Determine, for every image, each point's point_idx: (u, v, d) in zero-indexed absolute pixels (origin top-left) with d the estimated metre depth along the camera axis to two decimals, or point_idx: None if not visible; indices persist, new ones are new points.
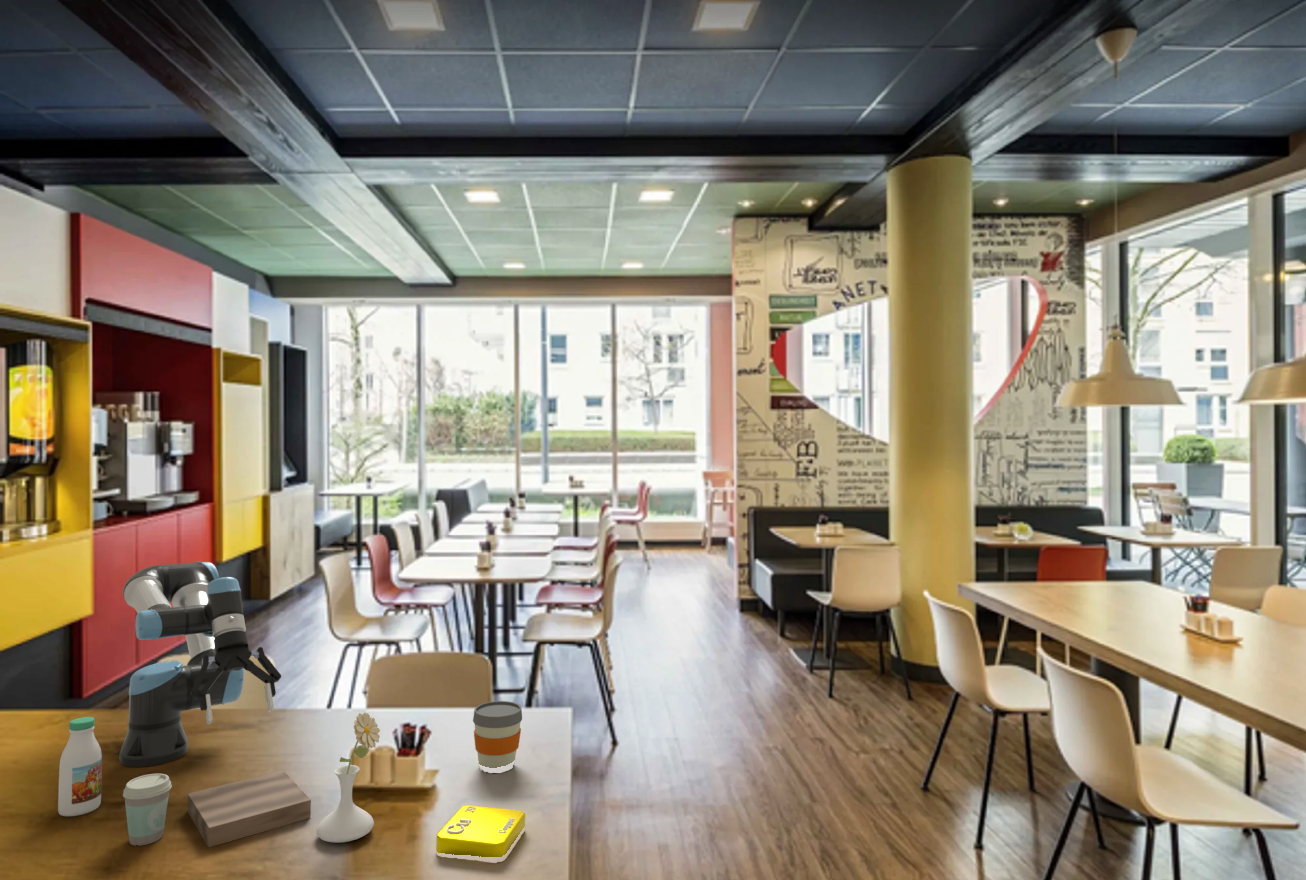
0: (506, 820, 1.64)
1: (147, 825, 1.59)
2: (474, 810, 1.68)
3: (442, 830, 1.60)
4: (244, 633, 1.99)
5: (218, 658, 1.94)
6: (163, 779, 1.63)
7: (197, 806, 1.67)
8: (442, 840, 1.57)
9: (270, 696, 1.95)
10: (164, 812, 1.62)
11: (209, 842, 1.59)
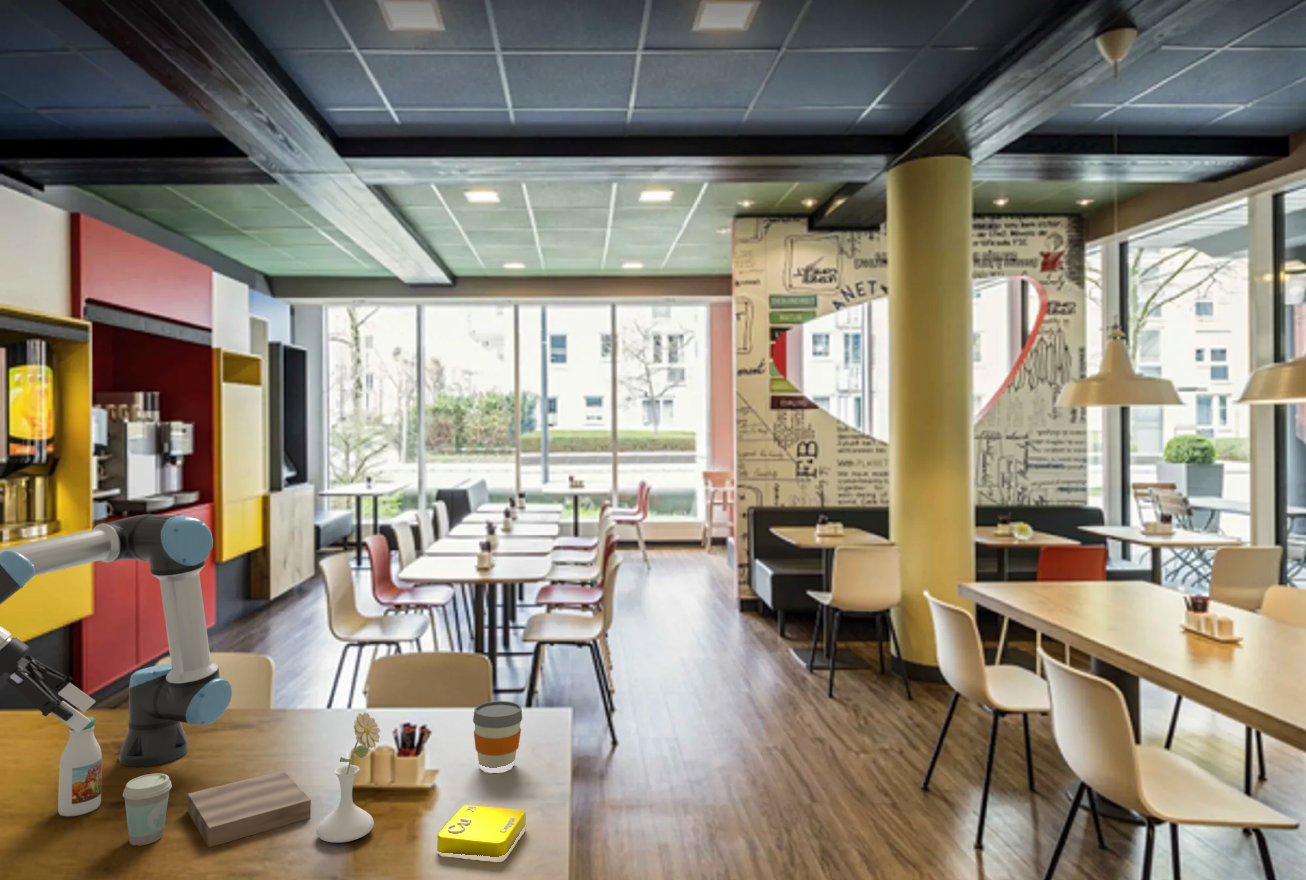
0: (507, 819, 1.65)
1: (147, 825, 1.59)
2: (475, 810, 1.69)
3: (443, 830, 1.60)
4: None
5: None
6: (163, 779, 1.63)
7: (197, 806, 1.67)
8: (443, 839, 1.57)
9: None
10: (164, 812, 1.62)
11: (209, 842, 1.59)
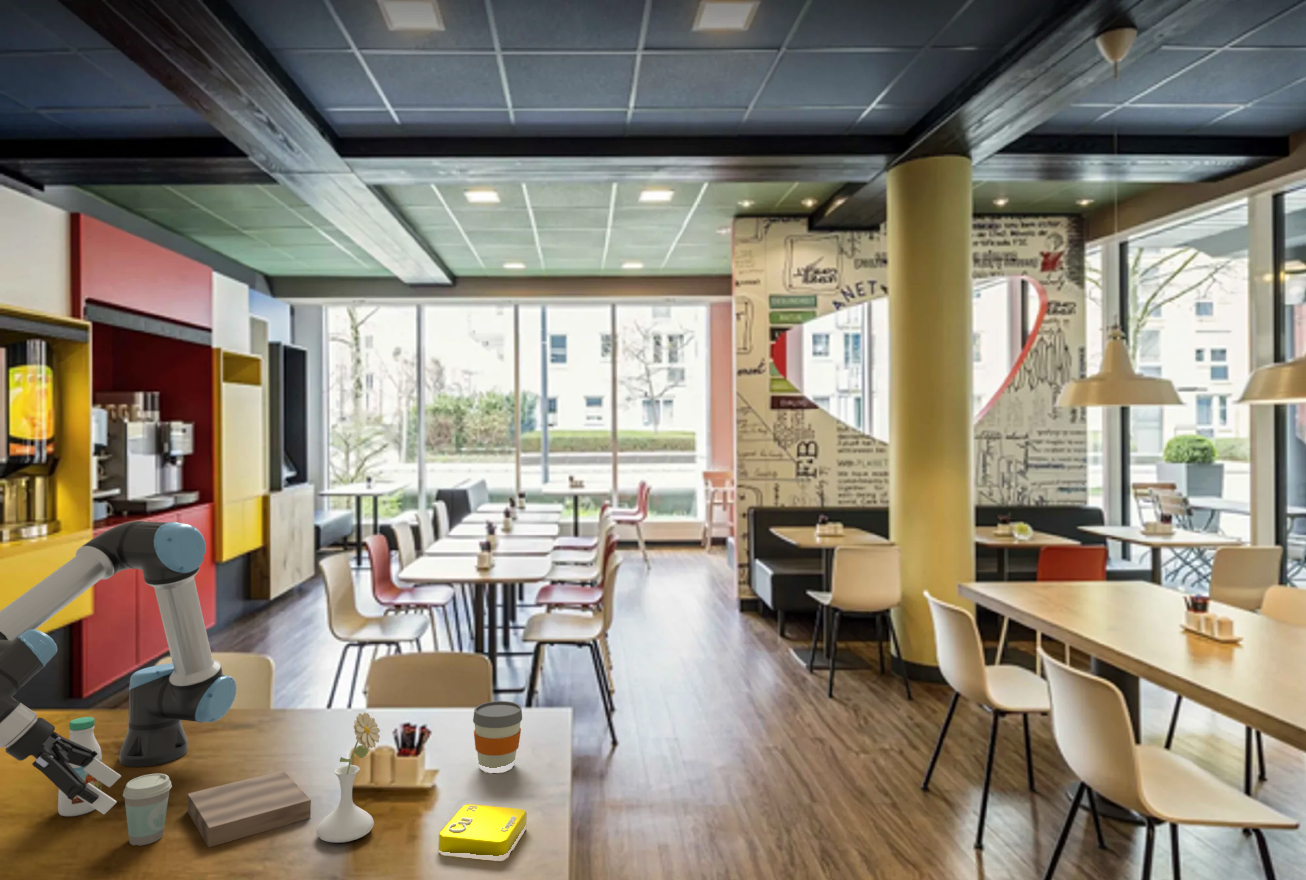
0: (508, 818, 1.65)
1: (147, 825, 1.59)
2: (475, 809, 1.69)
3: (444, 829, 1.60)
4: (11, 751, 1.47)
5: None
6: (163, 779, 1.63)
7: (197, 806, 1.67)
8: (444, 838, 1.57)
9: None
10: (164, 812, 1.62)
11: (209, 842, 1.59)
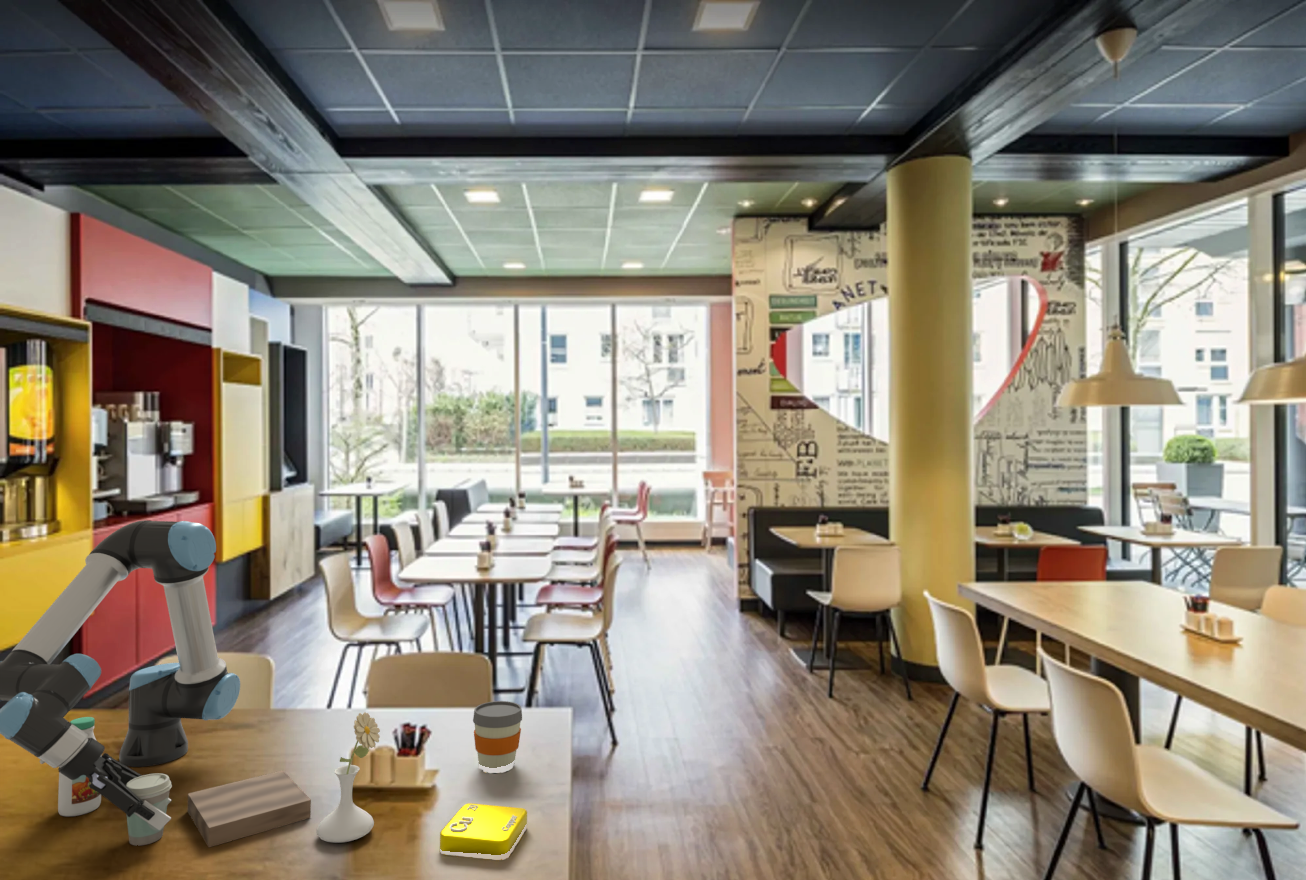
0: (509, 818, 1.66)
1: (147, 825, 1.59)
2: (476, 808, 1.69)
3: (445, 828, 1.60)
4: (64, 771, 1.52)
5: None
6: (163, 779, 1.63)
7: (197, 806, 1.67)
8: (446, 838, 1.57)
9: None
10: (164, 812, 1.62)
11: (209, 842, 1.59)
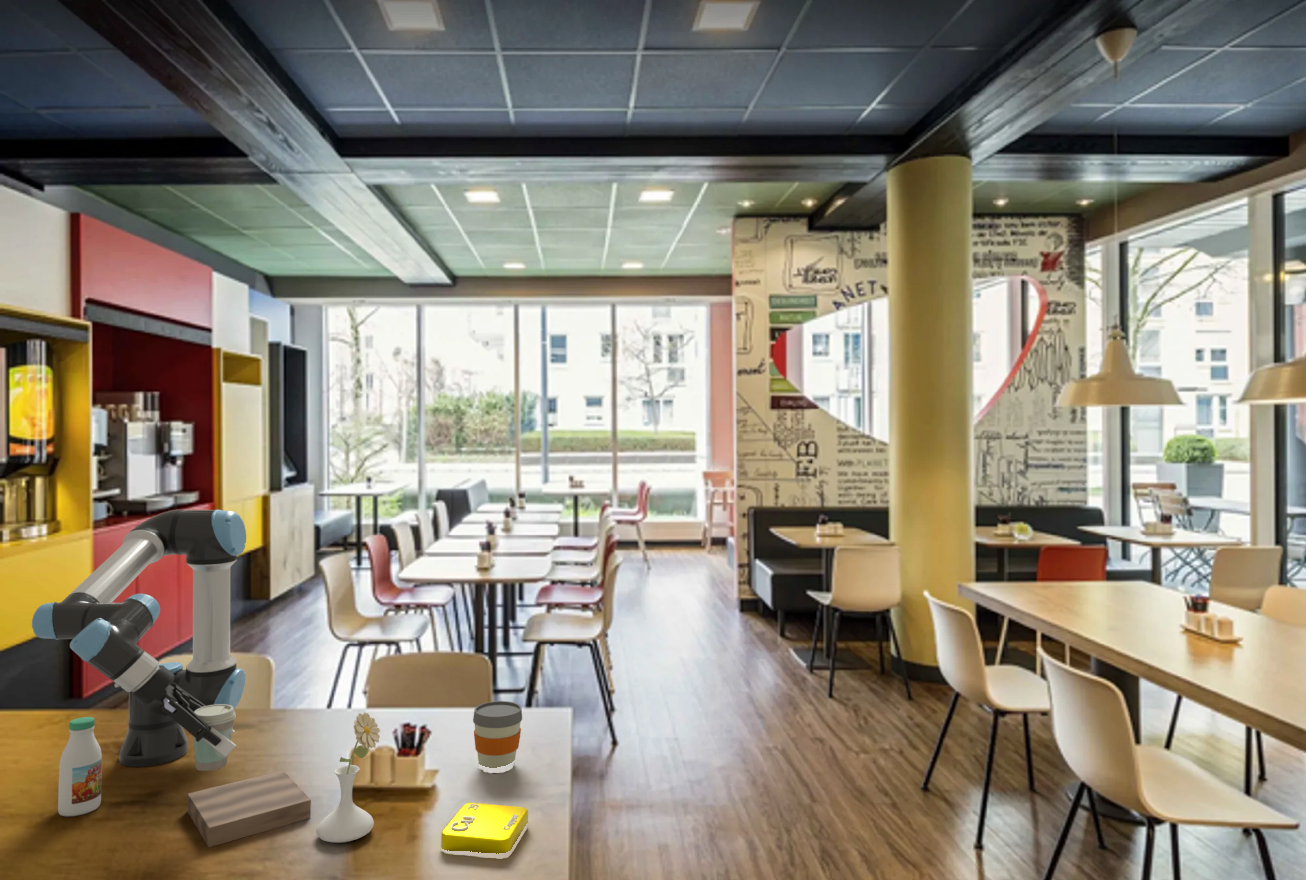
0: (510, 817, 1.66)
1: (213, 751, 1.64)
2: (477, 807, 1.70)
3: (447, 827, 1.61)
4: (138, 695, 1.58)
5: None
6: (228, 709, 1.69)
7: (197, 806, 1.67)
8: (447, 837, 1.58)
9: None
10: None
11: (209, 842, 1.59)
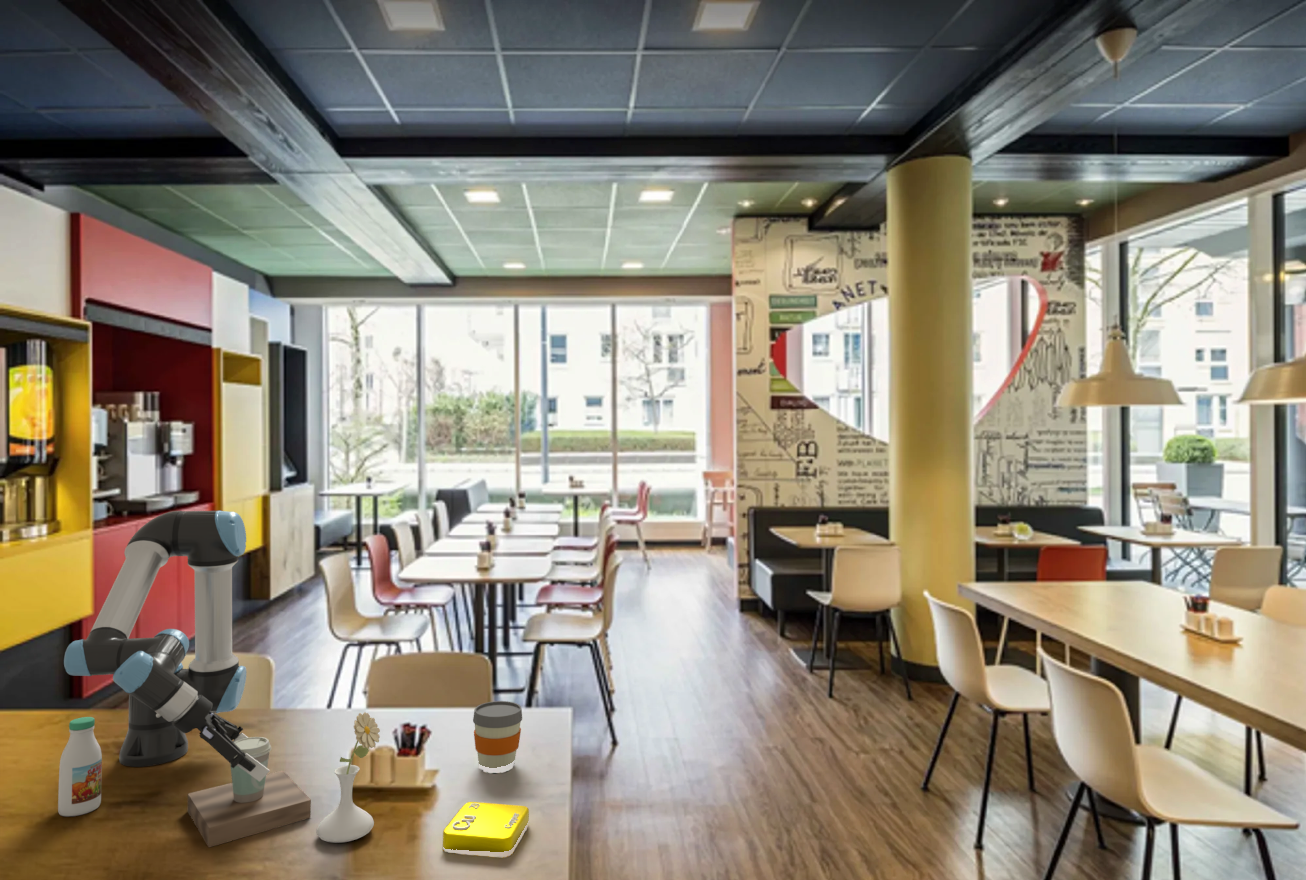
0: (511, 815, 1.67)
1: (251, 783, 1.70)
2: (478, 806, 1.70)
3: (448, 826, 1.61)
4: (179, 724, 1.63)
5: None
6: (263, 742, 1.74)
7: (197, 806, 1.67)
8: (449, 836, 1.58)
9: None
10: None
11: (209, 842, 1.59)
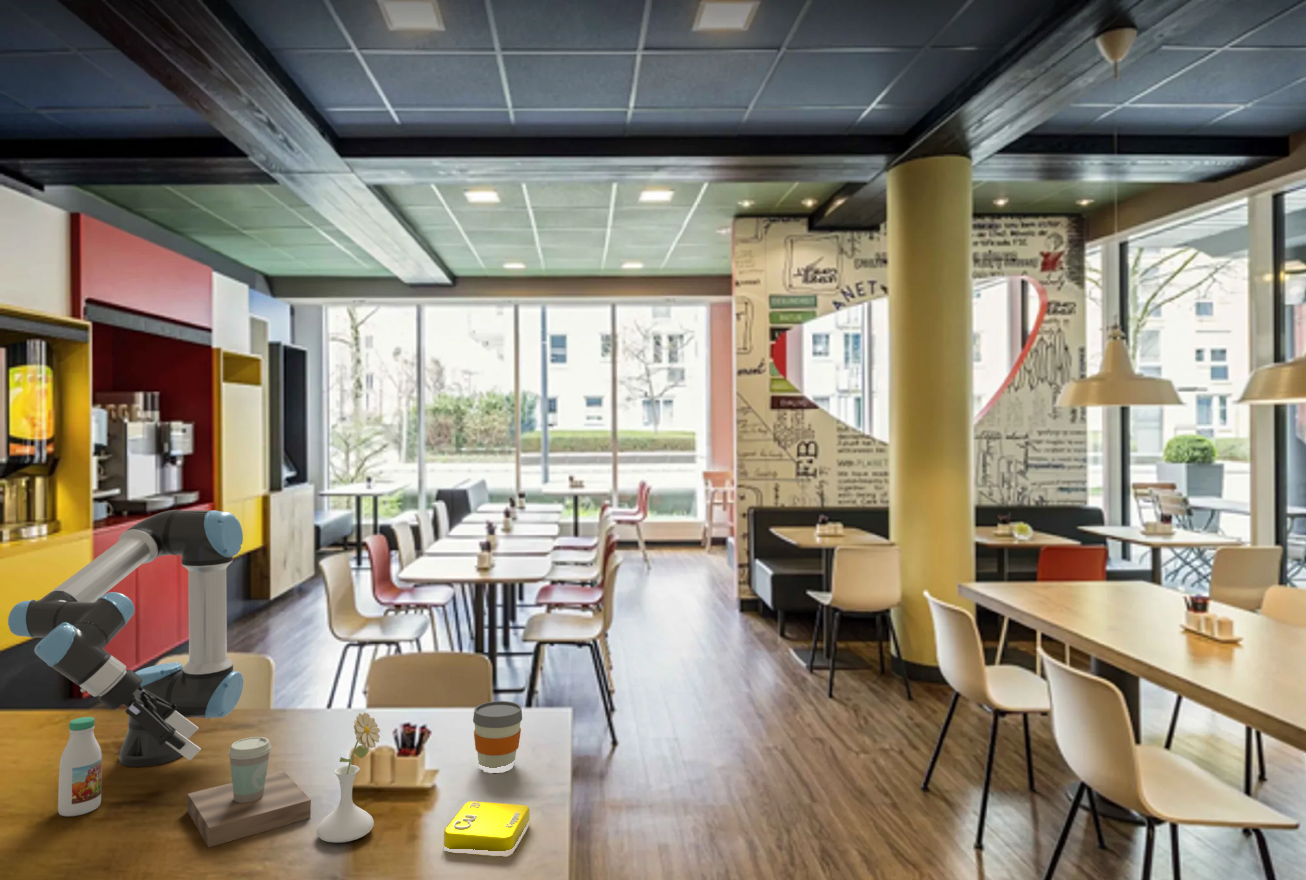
0: (511, 815, 1.67)
1: (251, 784, 1.70)
2: (478, 806, 1.70)
3: (449, 826, 1.61)
4: (105, 699, 1.56)
5: None
6: (263, 742, 1.74)
7: (197, 806, 1.67)
8: (450, 835, 1.59)
9: None
10: (265, 772, 1.73)
11: (209, 842, 1.59)
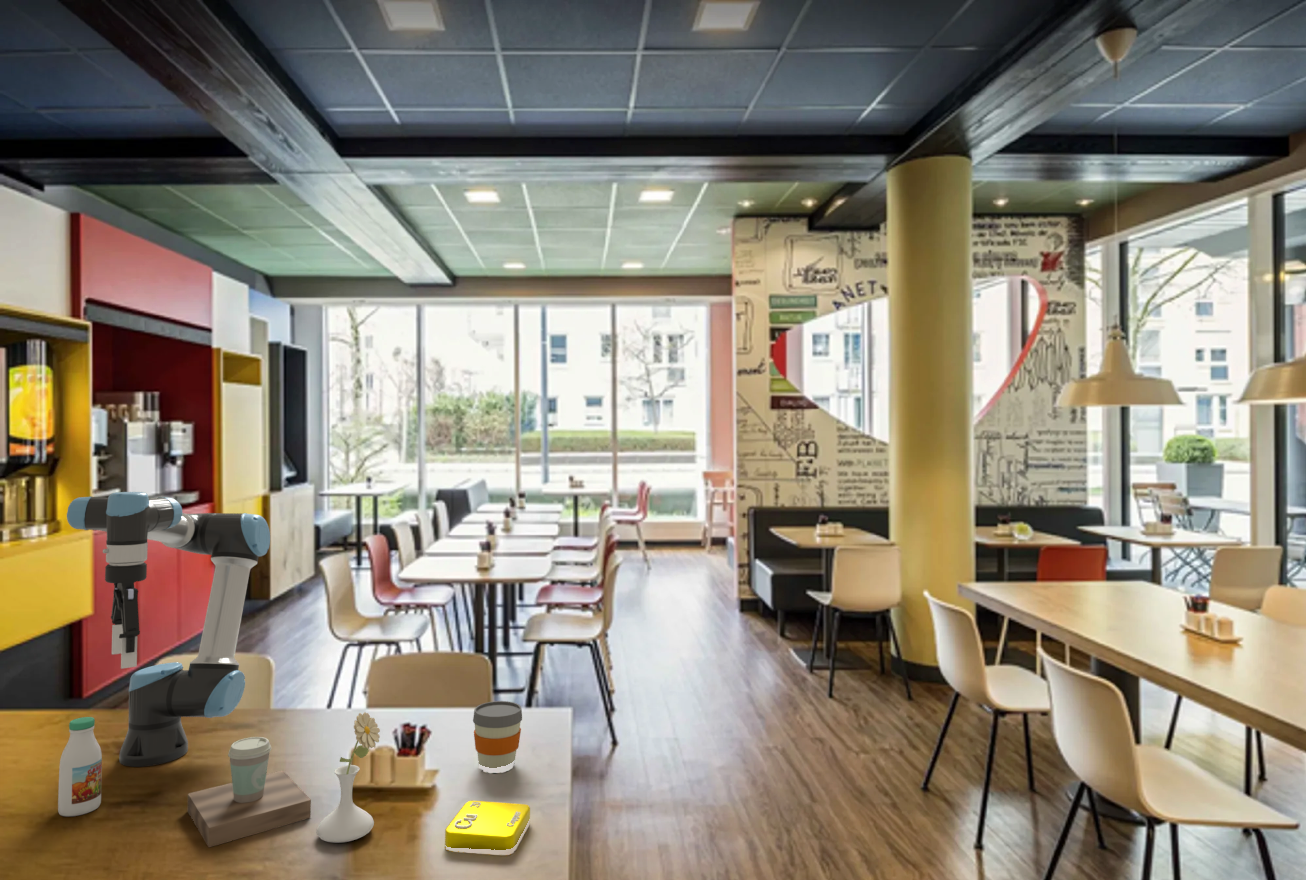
0: (512, 814, 1.67)
1: (251, 784, 1.70)
2: (479, 805, 1.71)
3: (450, 825, 1.62)
4: (114, 570, 1.66)
5: (117, 588, 1.71)
6: (263, 742, 1.74)
7: (197, 806, 1.67)
8: (451, 835, 1.59)
9: (121, 654, 1.63)
10: (265, 772, 1.73)
11: (209, 842, 1.59)
